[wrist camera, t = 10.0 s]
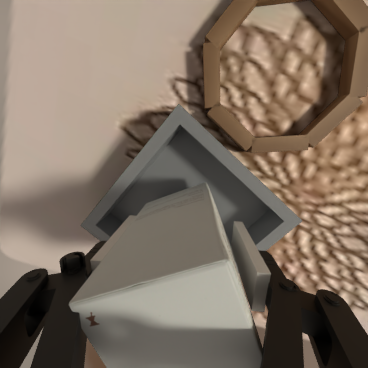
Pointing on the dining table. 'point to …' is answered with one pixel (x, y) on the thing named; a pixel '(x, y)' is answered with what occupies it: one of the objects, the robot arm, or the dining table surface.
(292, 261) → the dining table surface
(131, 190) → the bin
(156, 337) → the supplement box
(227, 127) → the ring
